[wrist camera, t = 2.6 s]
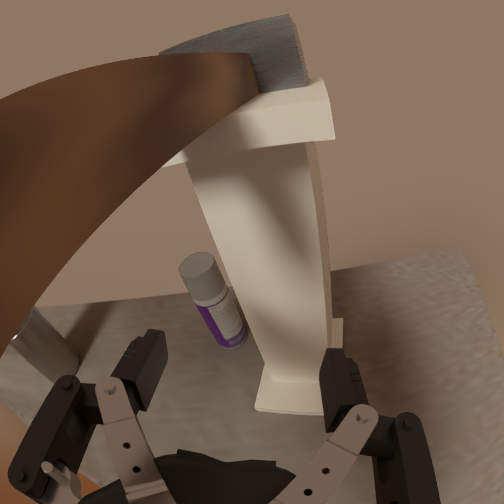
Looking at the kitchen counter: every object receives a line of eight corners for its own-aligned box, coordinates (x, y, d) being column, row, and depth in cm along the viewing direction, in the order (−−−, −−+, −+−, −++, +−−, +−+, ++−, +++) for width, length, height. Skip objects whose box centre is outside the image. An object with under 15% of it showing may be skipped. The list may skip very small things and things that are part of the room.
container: (212, 335, 42) (172, 264, 33) (237, 319, 43) (205, 245, 34) (226, 355, 38) (185, 284, 29) (253, 338, 40) (221, 263, 31)
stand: (337, 415, 27) (329, 99, 8) (257, 410, 30) (107, 152, 11) (343, 324, 37) (322, 76, 18) (276, 324, 41) (208, 97, 22)
